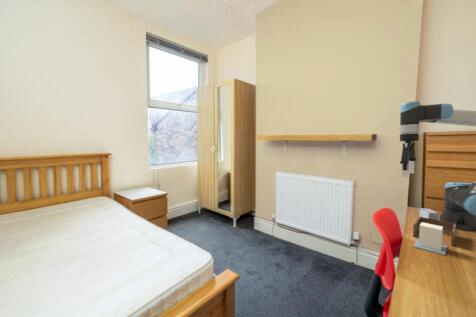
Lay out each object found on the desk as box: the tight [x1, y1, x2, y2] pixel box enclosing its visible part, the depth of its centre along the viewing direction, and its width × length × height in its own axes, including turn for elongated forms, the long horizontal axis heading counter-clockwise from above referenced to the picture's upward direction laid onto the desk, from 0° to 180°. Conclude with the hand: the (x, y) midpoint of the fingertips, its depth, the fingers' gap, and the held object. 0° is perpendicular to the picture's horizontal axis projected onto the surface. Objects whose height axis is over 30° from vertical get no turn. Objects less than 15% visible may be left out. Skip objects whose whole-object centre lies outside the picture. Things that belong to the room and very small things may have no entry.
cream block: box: [418, 222, 444, 251], centre depth 92 cm, size 5×7×9 cm
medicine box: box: [418, 207, 439, 220], centre depth 113 cm, size 8×4×9 cm, turn 168°
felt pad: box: [412, 238, 448, 256], centre depth 92 cm, size 10×10×1 cm
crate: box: [412, 216, 457, 247], centre depth 102 cm, size 15×14×6 cm
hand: (408, 174), depth 108 cm, fingers open, 13 cm apart
